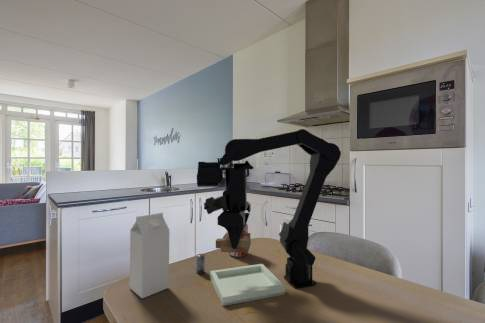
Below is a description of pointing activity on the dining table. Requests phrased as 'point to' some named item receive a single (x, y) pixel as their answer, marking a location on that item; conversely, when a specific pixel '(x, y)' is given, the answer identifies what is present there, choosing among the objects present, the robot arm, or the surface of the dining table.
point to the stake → (200, 264)
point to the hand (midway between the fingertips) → (236, 243)
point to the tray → (245, 284)
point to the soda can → (240, 253)
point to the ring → (241, 248)
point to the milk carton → (149, 255)
